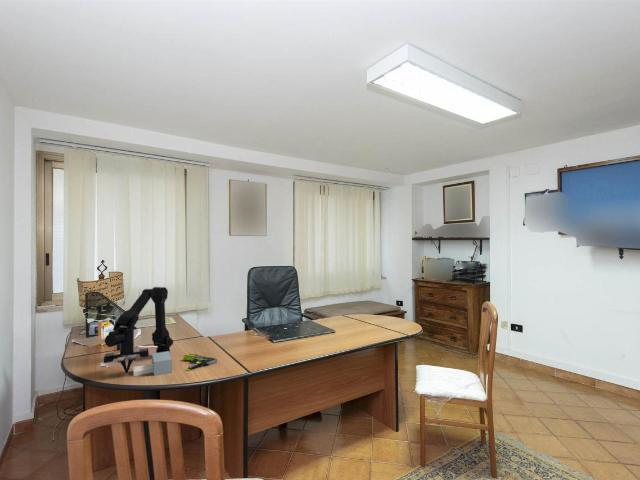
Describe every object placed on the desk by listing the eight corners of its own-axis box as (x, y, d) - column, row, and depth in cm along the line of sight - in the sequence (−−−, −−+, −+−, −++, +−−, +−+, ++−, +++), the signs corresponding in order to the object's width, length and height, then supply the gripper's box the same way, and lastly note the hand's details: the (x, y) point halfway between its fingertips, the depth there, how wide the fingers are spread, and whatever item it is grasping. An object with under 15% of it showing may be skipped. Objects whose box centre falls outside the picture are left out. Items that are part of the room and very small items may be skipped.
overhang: (168, 363, 177) (168, 351, 177) (171, 372, 165) (171, 359, 165) (152, 366, 173) (152, 353, 173) (153, 375, 161) (154, 362, 161)
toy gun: (168, 362, 170) (187, 351, 184) (168, 370, 170) (187, 358, 185) (202, 368, 165) (218, 356, 179) (202, 376, 165) (218, 363, 180)
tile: (163, 366, 174) (163, 361, 174) (165, 370, 168) (165, 366, 168) (132, 372, 166) (132, 367, 166) (133, 377, 160) (133, 371, 160)
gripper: (147, 334, 173) (147, 364, 173) (104, 339, 163) (104, 371, 163) (148, 339, 163) (148, 371, 163) (103, 345, 154) (103, 379, 154)
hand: (126, 372), depth 161 cm, fingers closed
